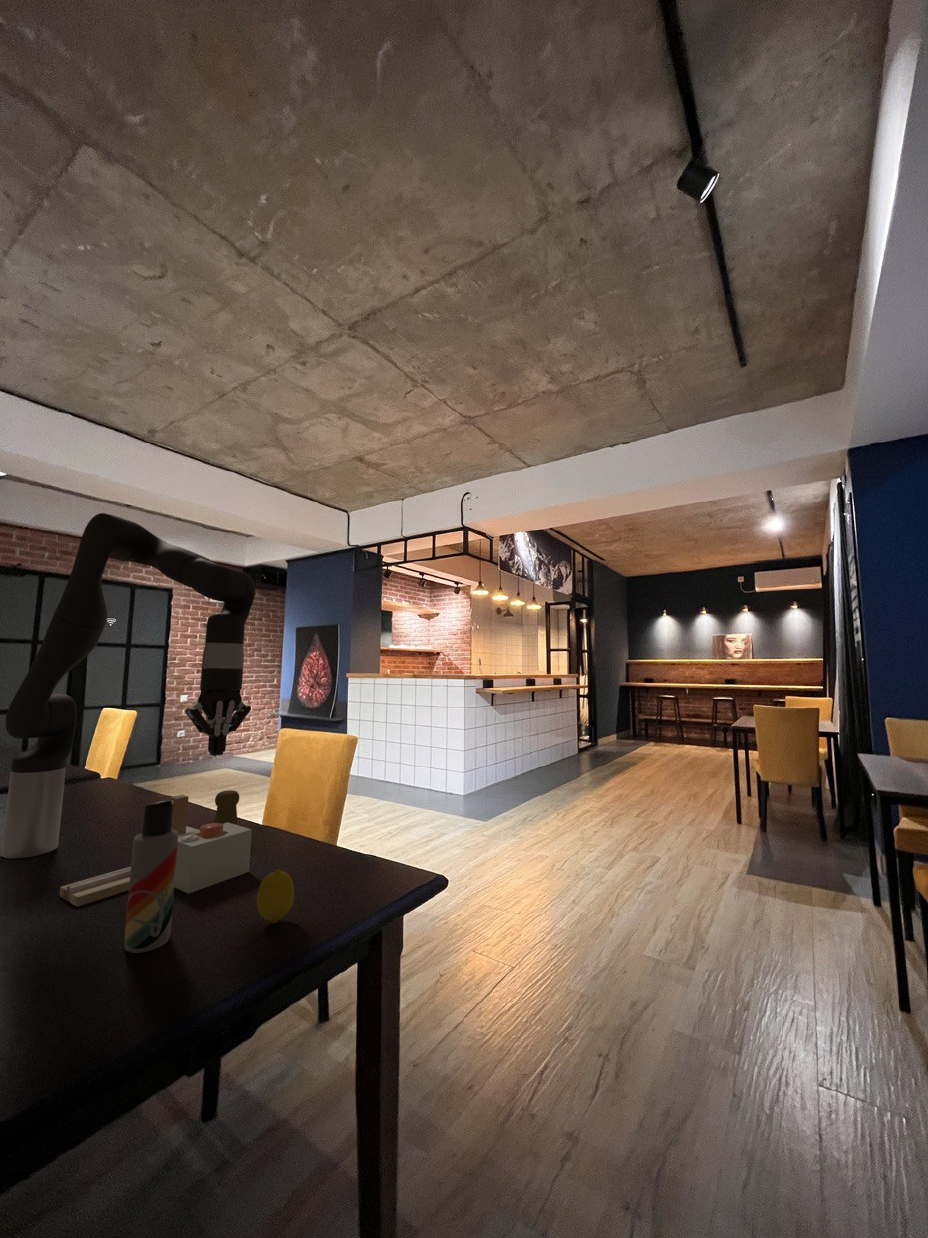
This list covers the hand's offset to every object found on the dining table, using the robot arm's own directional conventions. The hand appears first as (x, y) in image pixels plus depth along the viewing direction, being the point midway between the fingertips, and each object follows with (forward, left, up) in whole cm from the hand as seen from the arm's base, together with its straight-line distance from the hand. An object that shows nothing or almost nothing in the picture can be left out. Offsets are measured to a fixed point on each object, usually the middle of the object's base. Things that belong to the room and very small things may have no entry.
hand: (216, 755), depth 98 cm
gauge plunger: (0, 0, -19) cm, 19 cm away
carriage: (-9, -1, -20) cm, 22 cm away
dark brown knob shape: (-17, +14, -23) cm, 32 cm away
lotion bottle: (+15, -18, -23) cm, 33 cm away
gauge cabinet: (0, 0, -23) cm, 23 cm away
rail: (-9, -6, -23) cm, 26 cm away
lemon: (+25, -4, -23) cm, 34 cm away
